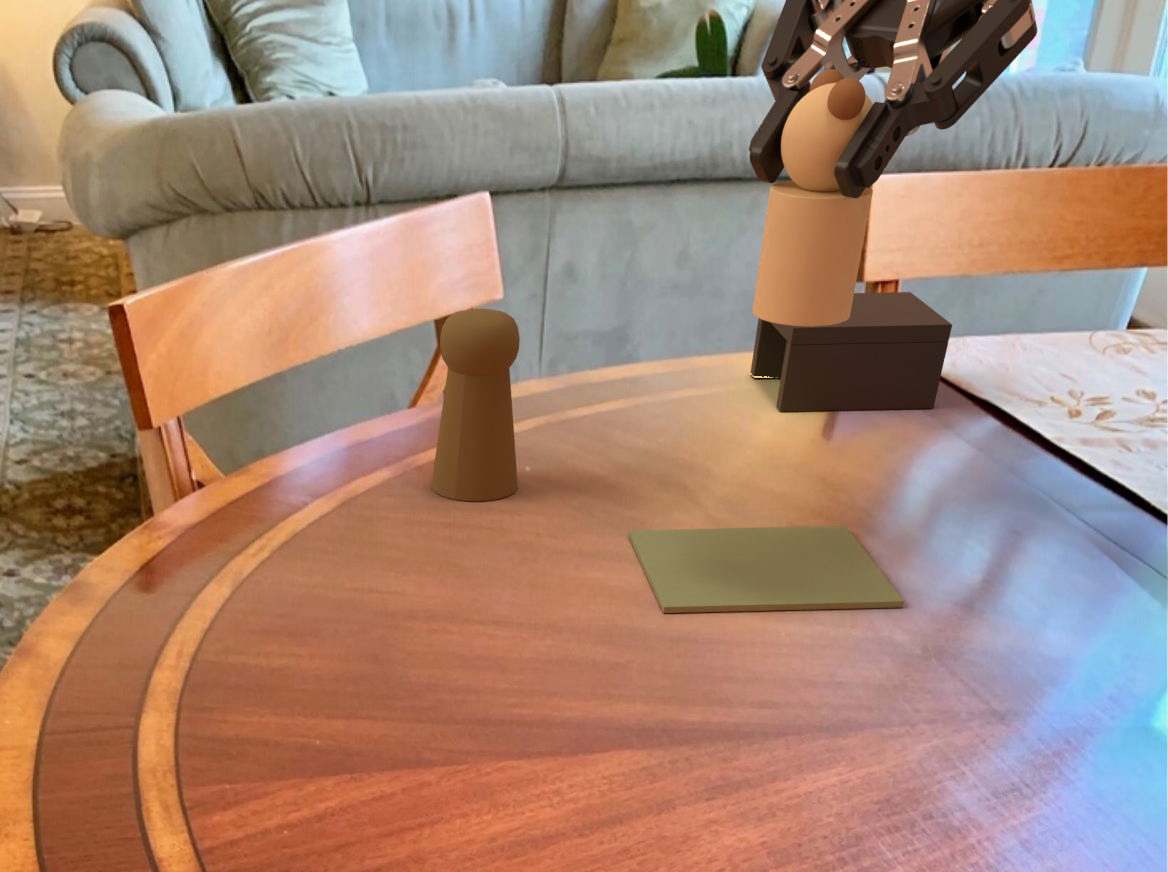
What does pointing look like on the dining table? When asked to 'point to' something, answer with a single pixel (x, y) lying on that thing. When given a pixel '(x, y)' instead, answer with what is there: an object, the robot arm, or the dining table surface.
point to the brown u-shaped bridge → (857, 357)
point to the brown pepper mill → (477, 407)
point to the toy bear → (814, 212)
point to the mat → (761, 569)
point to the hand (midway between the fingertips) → (802, 177)
